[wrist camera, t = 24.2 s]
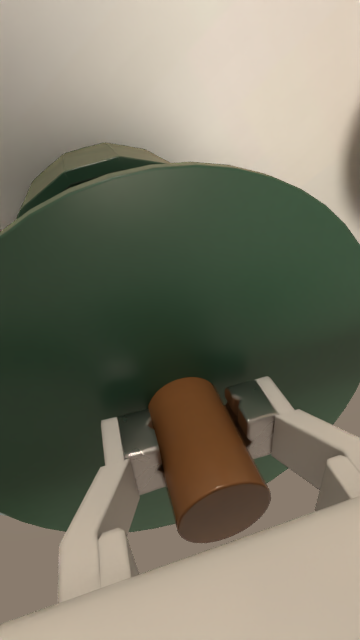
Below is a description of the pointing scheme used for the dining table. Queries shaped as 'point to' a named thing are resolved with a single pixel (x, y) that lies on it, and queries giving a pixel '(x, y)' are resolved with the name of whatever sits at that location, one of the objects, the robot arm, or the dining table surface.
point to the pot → (85, 169)
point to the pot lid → (168, 335)
